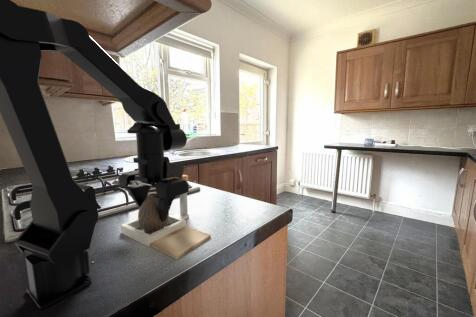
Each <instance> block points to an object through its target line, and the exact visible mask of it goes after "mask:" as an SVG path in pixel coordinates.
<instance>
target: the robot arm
mask: <svg viewBox="0 0 476 317" xmlns="http://www.w3.org/2000/svg"><path fill="white" fill-rule="evenodd" d="M46 51H47V52H59V53H61V54H63V55H64V56H65V57H66V58H68V59H69V60H70V61H71V62H72V63H74V64H75V65H76V66H77V67H79V68H80V69H81V70H82V71H83V72H85V73H86V74H87V75H89V77H91V78H92V79H94V81H96V82H97V84H99V85H100V86H102V87H103V89H105V90H106V91H108V92H109V93H111V94H112V96H114V97H115V98H116V99H117V100H119V102H120V103H121V106H122V108H123V111H124V112H125V113H126V115H128V117H130V118H131V119H132V120H133V121H134V122H133V125H131V127H129V128H128V129H127V133H128V134H135V136H136V151H137V153H136V155H137V157H133V158H132V159H133V163H134V164H136V163H137V170H134V171H133V170H132V171H127V172H122V173H121V174H120V176H119V177H118V183H119V186H122V187H124V190H125V191H127V193H128V194H129V196H130V198H132V200H133V202H134V203H135V205H136V206H137V208H138V210H139V209H140V206H141V205H142V203H143V202H144V201H145V199H146V197H147V195H148V194H149V192H150V189H151V188H155V193H157V195H154V196H153V199H154V202H155V205H156V208H157V211H158V214H159V217H160V220H161V221H162V222H163V221H166V219H167V216H168V213H169V212H170V209H171V206H172V204H173V202H174V199H175V198H176V197H179V196H180V195H181V194H184V193H187V194H188V193H189V192H190V191H189V188H190V186H189V181H186V180H183V179H182V176H183V175H184V171H185V166H182V165H177V164H174V163H171V162H170V161H171V160H170V158H169V157H168V156H165V152H167V151H168V152H169V151H173V150H181V149H183V148H184V147H185V146H186V144H187V142H188V138H187V136H186V135H187V134H186V133H185V131H184V130H183V129H182V128H181V124H180V123H176V122H175V120H174V118H173V115H172V114H171V112H170V109H169V108H168V105H167V103H166V101H165V100H164V99H163V98H162V97H161V96H160V95H159V94H157V93H155V92H154V91H153V90H150V89H148V88H146V87H143V86H142V85H141V84H139V83H138V82H137V81H136V80H135V79H133V77H131V76H130V74H128V73H127V71H125V69H123V68H122V66H121V65H120V64H119V63H117V62H116V61H115V60H114V59H113V57H111V55H109V53H107V52H106V51H105V50H104V49H103V48H102V46H100V45H99V44H98V43H97V42H96V41H95V40H94V39H93V37H92V36H90V34H89V32H88V29H86V27H85V26H84V25H83V24H82V23H80V22H78V21H75V20H73V19H66V18H61V17H60V16H59V17H58V16H56V15H55V14H52V13H50V12H48V11H45V10H41V9H36V8H31V7H26V6H21V5H19V4H17V3H16V2H14V1H13V0H0V115H1V118H2V121H3V122H4V124H5V126H6V129H7V131H8V134H9V136H10V139H11V140H12V143H13V145H14V148H15V149H16V150H15V151H16V152H17V155H18V156H19V159H20V161H21V163H22V166H23V168H24V171H25V173H26V175H27V178H28V180H29V182H30V184H31V187H32V191H31V198H30V203H29V207H30V214H31V218H32V220H31V221H30V222H29V224H28V225H27V227H26V228H25V229H24V230H23V231H22V232H21V233H20V235H19V236H17V238H16V239H15V241H13V242H14V243H13V244H14V245H15V247H17V248H18V249H19V251H20V252H21V253H25V254H28V255H26V256H25V257H24V258H25V264H26V269H27V277H28V284H29V286H27V287H26V289H25V290H26V293H27V294H28V295H29V297H30V298H31V299H32V300H33V301H34V303H35V304H36V306H37V307H38V308H39V309H40V310H43V309H45V308H47V307H49V306H51V305H53V304H55V303H57V302H59V301H60V300H62V299H64V298H65V297H68V296H70V295H72V294H73V293H75V292H78V290H81V289H82V288H85V287H86V286H89V285H90V284H91V283H93V278H92V277H90V276H89V274H90V273H91V270H90V269H91V268H90V267H91V266H90V258H89V257H90V256H89V251H88V250H89V249H90V248H91V243H92V240H93V236H94V233H95V232H94V231H95V227H96V224H97V223H98V222H99V218H100V215H99V210H101V209H102V206H101V205H100V204H99V203H98V201H97V197H96V190H95V189H94V187H93V186H92V185H91V186H90V185H86V184H80V183H77V181H75V180H74V178H73V176H72V172H71V169H70V166H69V163H68V161H67V158H66V155H65V153H64V149H63V147H62V144H61V142H60V139H59V137H58V133H57V130H56V127H55V125H54V122H53V118H52V116H51V114H50V110H49V108H48V105H47V102H46V100H45V97H44V95H43V94H44V93H43V91H42V89H41V88H42V87H41V86H40V82H39V78H40V70H41V67H42V66H41V65H42V59H43V58H42V56H43V55H42V52H46ZM171 177H178V178H180V179H178V178H173V179H169V178H171ZM169 214H170V213H169Z"/></svg>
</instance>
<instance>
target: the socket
mask: <svg viewBox="0 0 476 317" xmlns="http://www.w3.org/2000/svg"><path fill="white" fill-rule="evenodd" d="M188 218H190V214H188V192H187V193H184V194H181V195H179V213H176V214H174V215H173V214H170V213H169V219H168V222H167V224H168V225H166V226H165V227H164V228H163V229H161V230H158V231H156V232H154V233H148V232H146V231H144V230H143V231H142V230H140V229H139V228H141V226H140V224H139V221H138V218H135V219H132V220H130V221H127V222H124V223H122V224H120V233H121V235H124V236H127V237H128V238H130V239H132V240H134V241H136V242H138V243H140V244H142V245H144V246H146V247H151V246H150V243H152V242H154V241H156V240H158V239H160V238H162V237H164V236H166V235H168V234H170V233H172V232H174V231H176V230H178V229H180V228H182V227H184V226H187V220H186V219H188Z"/></svg>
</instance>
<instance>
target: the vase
mask: <svg viewBox="0 0 476 317" xmlns="http://www.w3.org/2000/svg"><path fill="white" fill-rule="evenodd" d="M154 195H157V193H156V192H151V193H148V195H147V197H146V199H145V201H144V202H143V203H142V205H141V206H140V209H139V208H138V213H137V219H138V221H139V224H140V226H141V227H140V228H141V230H143V232H145V233H147V234H152V233H154V232H156V231H158V230H161V229H163V228H165V227H167V226H168V225H167V224H168V223H167V222H168V219H169V214H170V213H168V216H167V219H166V221H163V222H162V221H161V220H160V217H159V214H158V211H157V208H156V205H155V202H154V199H153V196H154Z"/></svg>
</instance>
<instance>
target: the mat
mask: <svg viewBox="0 0 476 317" xmlns="http://www.w3.org/2000/svg"><path fill="white" fill-rule="evenodd" d="M211 237H212V235H211V234H209V233H206V232H203V231H201V230H198V229H195V228H193V227H191V226H187V225H186V226H184V227H182V228H180V229H178V230H176V231H174V232H172V233H170V234H168V235H166V236H164V237H162V238H160V239H158V240H156V241H154V242H152V243H150V246H149V247H150V248H153V249H154V250H157V251H159V252H161V253H163V254H165V255H167V256H169V257H171V258H173V259H175V260H179V259H180V258H181V257H183V256H184V255H186V254H187V253H188V252H190V251H192V250H193V249H195V248H196V247H198V246H200V245H201V244H202V243H205V242H206V241H207V240H209V239H210V238H211Z"/></svg>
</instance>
